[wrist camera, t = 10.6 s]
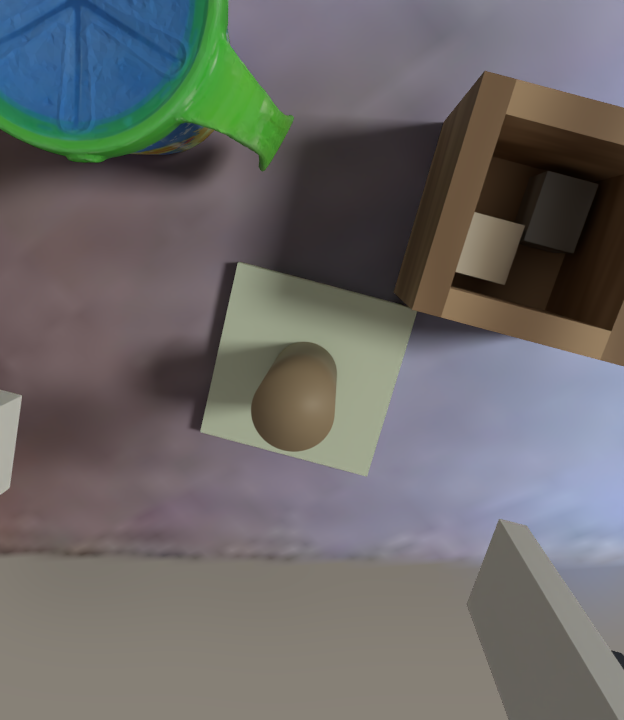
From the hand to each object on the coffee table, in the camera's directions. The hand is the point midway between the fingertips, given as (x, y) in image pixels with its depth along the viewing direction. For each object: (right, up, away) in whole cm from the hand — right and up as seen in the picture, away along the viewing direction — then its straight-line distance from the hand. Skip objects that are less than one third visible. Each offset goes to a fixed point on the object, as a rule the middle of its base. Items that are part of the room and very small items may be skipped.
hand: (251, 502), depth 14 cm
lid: (+1, +3, +16) cm, 17 cm away
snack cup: (-6, +18, +13) cm, 24 cm away
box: (+12, +11, +14) cm, 21 cm away
